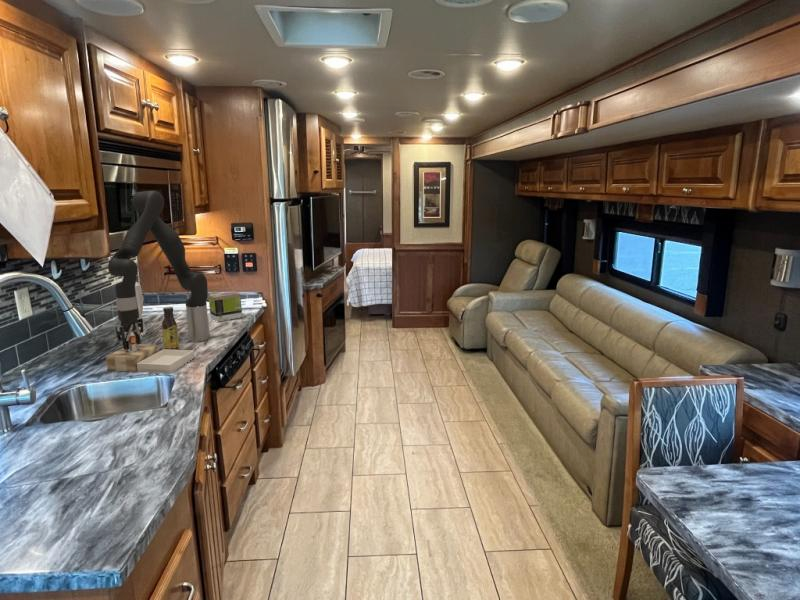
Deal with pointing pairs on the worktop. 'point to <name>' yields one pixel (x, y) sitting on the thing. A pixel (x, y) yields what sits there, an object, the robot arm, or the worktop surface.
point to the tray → (165, 361)
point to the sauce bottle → (169, 330)
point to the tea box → (225, 306)
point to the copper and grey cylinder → (132, 344)
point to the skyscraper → (139, 305)
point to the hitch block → (129, 358)
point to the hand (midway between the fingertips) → (132, 346)
